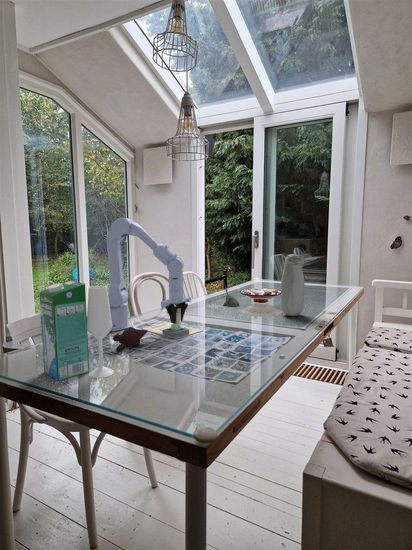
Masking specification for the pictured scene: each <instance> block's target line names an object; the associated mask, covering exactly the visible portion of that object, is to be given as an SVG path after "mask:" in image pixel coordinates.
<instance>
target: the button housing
mask: <svg viewBox="0 0 412 550" xmlns="http://www.w3.org/2000/svg"><path fill="white" fill-rule="evenodd" d="M187 334H189V329H186V328H182V327H181V330H180V331H177V332H174V331H171V328H167V329H164V330H163V335H162V336H164V335H167V336H170V337H169V338H171V337H174V338H173V339H175V338H177V337H180V336H184V335H187ZM167 336H166V337H167Z"/></svg>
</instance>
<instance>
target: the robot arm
mask: <svg viewBox="0 0 412 550" xmlns="http://www.w3.org/2000/svg"><path fill="white" fill-rule="evenodd" d="M128 236H133V237H137V238H138V239H139V240H141V241H142V242H143V243H144V244H145V245H146V246H148V247H149V248H150V249H151V251H152V254H153V256H154V257H155V258H156V259H157V260H158V261H160V263H162V264H163V265H164V266H166V268H167V271H168V299H166V300H163V301H160V307H161V308H165V310H166V311H167V314H168V316H169V320H170V323H176V313H177V309H178V307H180V308H181V323H182V322H183V320H184V317H185V313H186V310H187V309H188V307H189V303H192V297H191V296H184V273H183V272H184V271H183V269H184V266H185V265H184V264H185V263H184V261H183V259H182V258H181V257H178V255H177V253H175V254H174V252H172V251H171V250H170V249H169V246H168V245H167V244H166V245H165V244H164V243H158V242H157V241H156V240H155V239H154V238H153V237H152V236H151V235H150V234H149V233H148V232H147V231H146V230H145V229H144V227H142V226H141V225H140V224H139V223H137V222H136V221H134V220H133V219H132V218H129V217H127V218H125V217H118V218H117V219H115V220H114V221H113V222H112V223H111V227H110V229H109V231H108V233H107V235H106V248H107V259H108V271H109V279H110V281H109V283H110V284H109V286H108V298H109V306H110V313H111V320H112V328H111V330H110V332H117V331H121V330H126V329H128V328H129V327H131V328H134V325H132V324H129V303H128V300H129V298H130V293H129V291H128V289H127V285H126V283H125V280H124V271H123V270H124V269H123V259H122V248H121V242H122V241H123V240H124V239H125V238H126V237H128Z"/></svg>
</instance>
